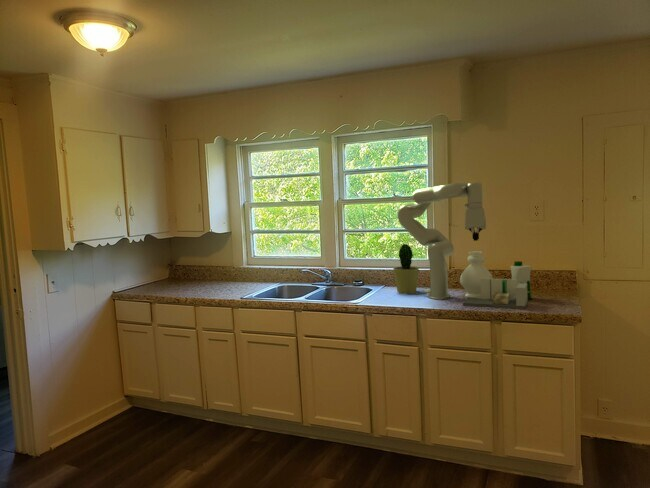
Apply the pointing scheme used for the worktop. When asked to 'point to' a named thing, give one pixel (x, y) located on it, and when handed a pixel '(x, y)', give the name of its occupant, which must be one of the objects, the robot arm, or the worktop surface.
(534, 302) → the worktop surface
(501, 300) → the gauge slider
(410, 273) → the potted cactus
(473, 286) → the decorative vase
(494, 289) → the gauge frame
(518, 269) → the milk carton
